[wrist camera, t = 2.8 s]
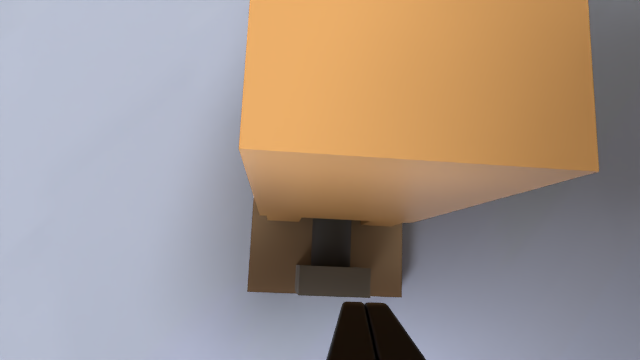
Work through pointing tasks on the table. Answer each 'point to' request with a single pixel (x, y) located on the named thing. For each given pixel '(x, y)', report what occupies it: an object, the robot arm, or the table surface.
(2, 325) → the table surface
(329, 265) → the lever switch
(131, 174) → the table surface
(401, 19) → the orange slab
